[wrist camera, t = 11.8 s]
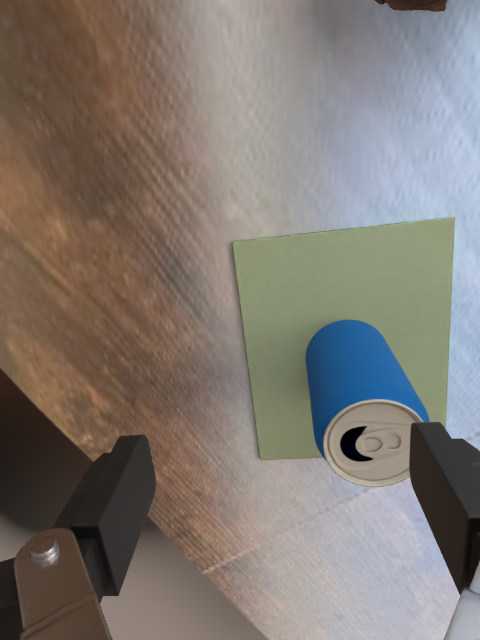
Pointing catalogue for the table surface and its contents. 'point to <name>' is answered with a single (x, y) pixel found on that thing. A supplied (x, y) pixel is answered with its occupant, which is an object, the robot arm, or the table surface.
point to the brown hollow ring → (415, 4)
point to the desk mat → (342, 315)
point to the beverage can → (361, 404)
